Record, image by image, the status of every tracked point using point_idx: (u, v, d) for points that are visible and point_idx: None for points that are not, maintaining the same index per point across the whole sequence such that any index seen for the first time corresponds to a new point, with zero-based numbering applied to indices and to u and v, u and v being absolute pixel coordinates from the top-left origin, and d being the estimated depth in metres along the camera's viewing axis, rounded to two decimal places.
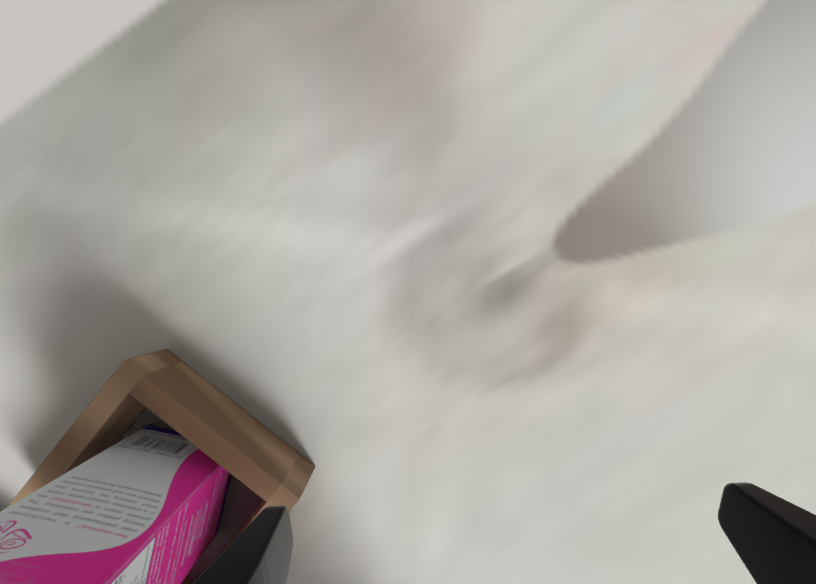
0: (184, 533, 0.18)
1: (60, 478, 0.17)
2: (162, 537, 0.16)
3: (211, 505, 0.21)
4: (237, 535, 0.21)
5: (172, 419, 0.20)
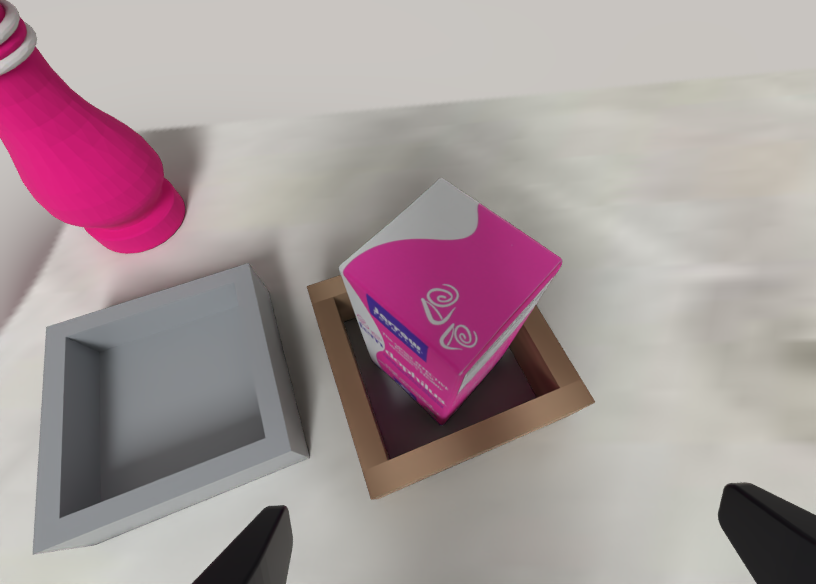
0: (495, 357, 0.18)
1: None
2: (523, 320, 0.17)
3: (483, 377, 0.21)
4: None
5: None
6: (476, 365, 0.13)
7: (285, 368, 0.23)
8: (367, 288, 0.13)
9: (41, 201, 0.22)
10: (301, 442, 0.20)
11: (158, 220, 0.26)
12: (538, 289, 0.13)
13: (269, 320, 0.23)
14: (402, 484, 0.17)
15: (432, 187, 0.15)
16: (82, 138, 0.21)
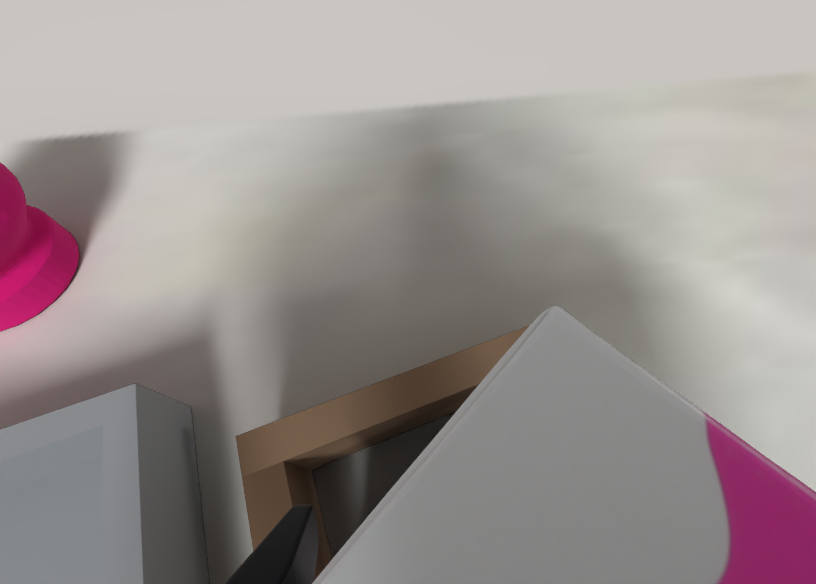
0: None
1: None
2: None
3: None
4: None
5: None
6: None
7: (199, 577, 0.12)
8: None
9: None
10: None
11: (17, 285, 0.16)
12: None
13: (174, 485, 0.13)
14: None
15: (534, 346, 0.04)
16: None
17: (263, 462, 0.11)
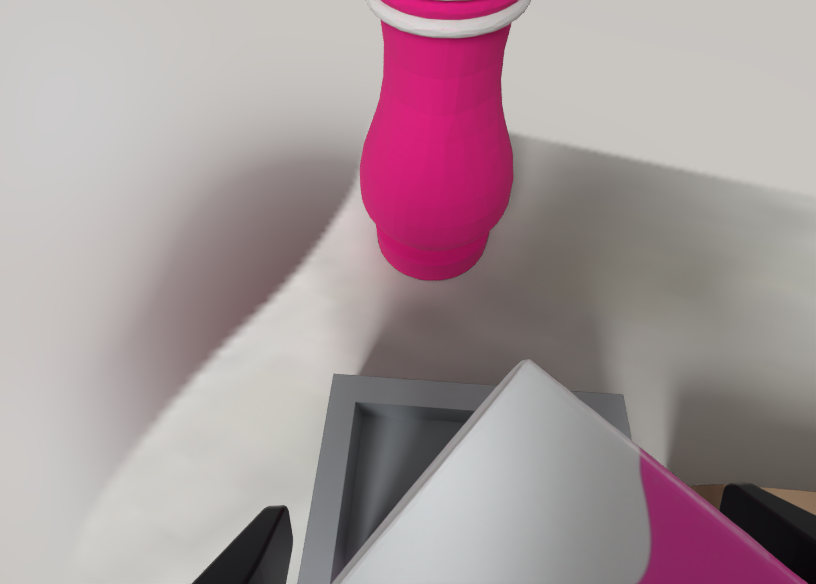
0: None
1: None
2: None
3: None
4: None
5: None
6: None
7: None
8: None
9: (375, 198, 0.17)
10: None
11: (467, 254, 0.20)
12: None
13: None
14: None
15: (509, 394, 0.06)
16: (481, 141, 0.14)
17: None
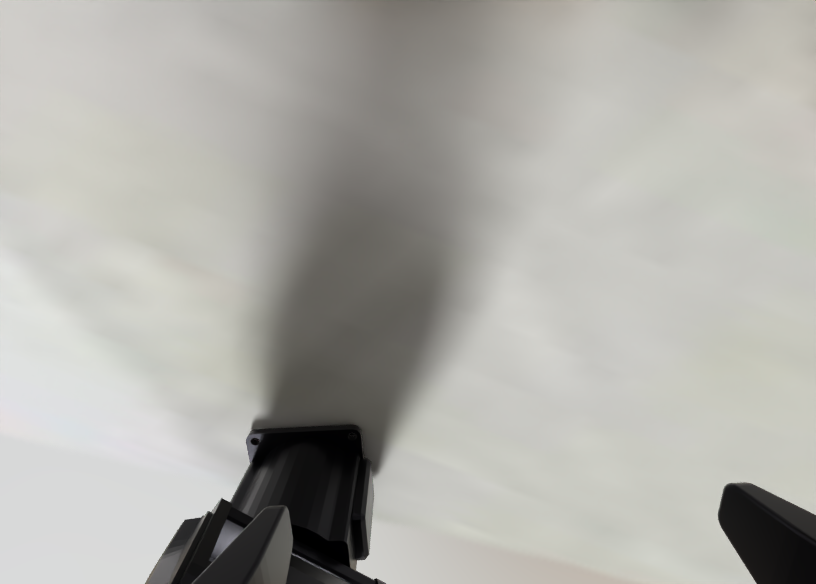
0: None
1: None
2: None
3: None
4: None
5: None
6: None
7: None
8: None
9: None
10: None
11: None
12: None
13: None
14: None
15: None
16: None
17: None
